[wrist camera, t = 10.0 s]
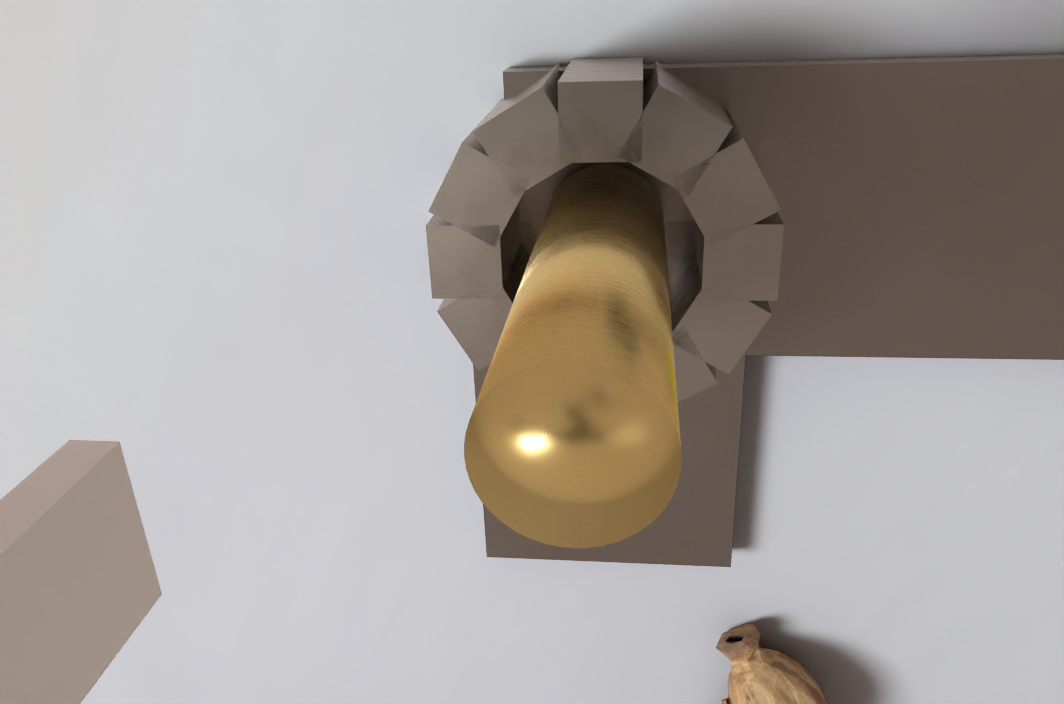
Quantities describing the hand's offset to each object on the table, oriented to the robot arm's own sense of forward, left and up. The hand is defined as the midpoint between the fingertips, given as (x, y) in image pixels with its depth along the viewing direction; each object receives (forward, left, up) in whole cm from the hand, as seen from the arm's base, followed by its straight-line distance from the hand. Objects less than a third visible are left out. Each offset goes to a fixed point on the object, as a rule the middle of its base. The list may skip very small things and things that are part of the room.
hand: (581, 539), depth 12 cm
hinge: (+4, +5, -18) cm, 19 cm away
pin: (0, 0, -17) cm, 17 cm away
